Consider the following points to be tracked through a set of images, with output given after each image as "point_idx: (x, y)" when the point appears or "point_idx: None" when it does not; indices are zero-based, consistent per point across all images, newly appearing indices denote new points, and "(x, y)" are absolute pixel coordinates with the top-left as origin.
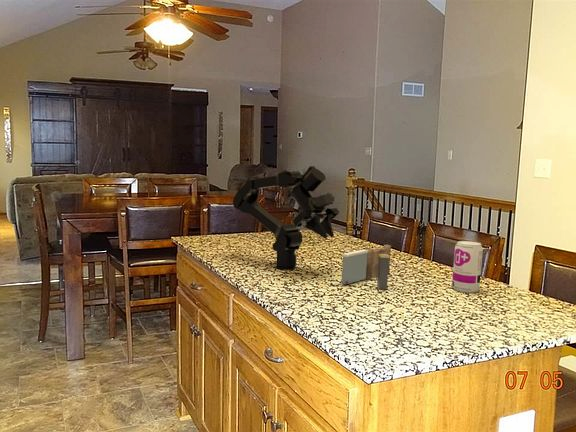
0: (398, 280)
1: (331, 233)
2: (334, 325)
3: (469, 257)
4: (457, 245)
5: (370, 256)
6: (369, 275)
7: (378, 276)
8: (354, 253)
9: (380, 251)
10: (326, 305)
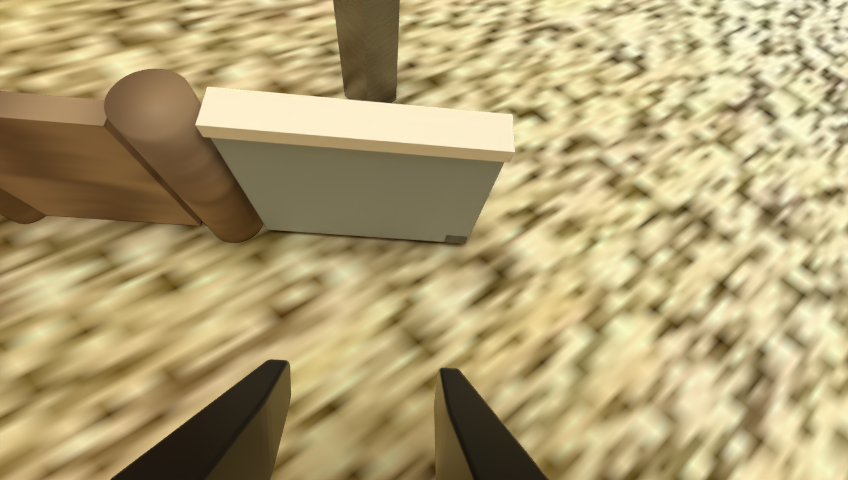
0: None
1: (276, 399)
2: (837, 38)
3: None
4: None
5: None
6: None
7: (377, 69)
8: (409, 106)
9: (7, 98)
10: (746, 135)
